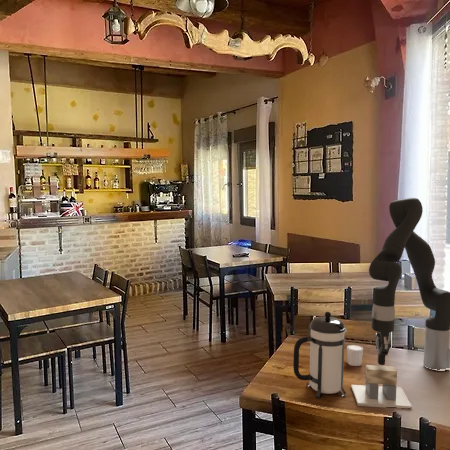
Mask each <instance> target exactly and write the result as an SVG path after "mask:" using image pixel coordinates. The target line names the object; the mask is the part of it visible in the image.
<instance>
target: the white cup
mask: <svg viewBox="0 0 450 450" xmlns="http://www.w3.org/2000/svg"><path fill="white" fill-rule="evenodd" d="M363 353H364V347H363V346H360V345H357V344H350V345H349V344H348V345H347V346H346V355H347V356H346V357H347V365H350V366H352V367H353V366H354V367H360V366H362V362H363Z"/></svg>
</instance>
